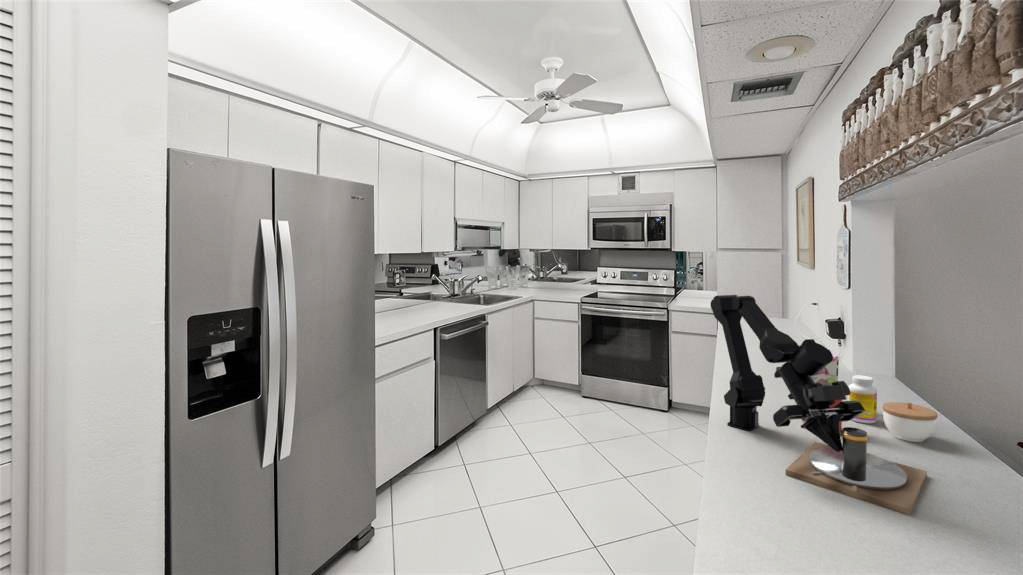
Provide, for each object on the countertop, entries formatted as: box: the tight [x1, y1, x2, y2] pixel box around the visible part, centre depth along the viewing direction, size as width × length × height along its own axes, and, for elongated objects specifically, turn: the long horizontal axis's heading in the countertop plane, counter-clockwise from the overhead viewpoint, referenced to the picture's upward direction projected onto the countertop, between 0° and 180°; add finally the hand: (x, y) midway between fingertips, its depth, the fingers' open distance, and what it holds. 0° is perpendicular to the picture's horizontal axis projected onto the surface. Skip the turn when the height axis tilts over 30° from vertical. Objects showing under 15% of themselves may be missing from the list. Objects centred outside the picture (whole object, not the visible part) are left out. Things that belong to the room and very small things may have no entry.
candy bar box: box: [811, 354, 840, 385], centre depth 140 cm, size 11×5×16 cm, turn 58°
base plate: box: [785, 441, 928, 516], centre depth 96 cm, size 21×21×2 cm
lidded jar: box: [882, 401, 938, 443], centre depth 114 cm, size 11×11×9 cm
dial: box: [809, 426, 907, 491], centre depth 96 cm, size 17×17×11 cm
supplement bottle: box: [847, 374, 878, 424], centre depth 126 cm, size 7×7×13 cm
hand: (839, 451), depth 92 cm, fingers closed
